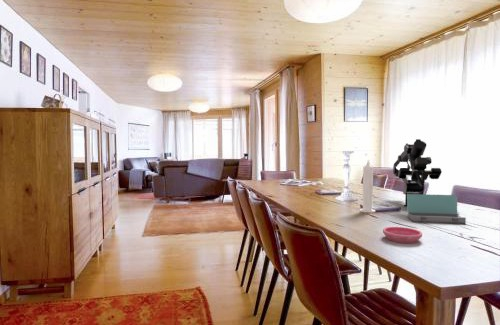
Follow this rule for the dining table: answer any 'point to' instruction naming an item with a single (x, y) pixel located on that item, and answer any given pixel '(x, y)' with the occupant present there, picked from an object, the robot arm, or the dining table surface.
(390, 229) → the saucer
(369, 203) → the candle
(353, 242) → the dining table surface
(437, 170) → the robot arm
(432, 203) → the cover
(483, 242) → the dining table surface
